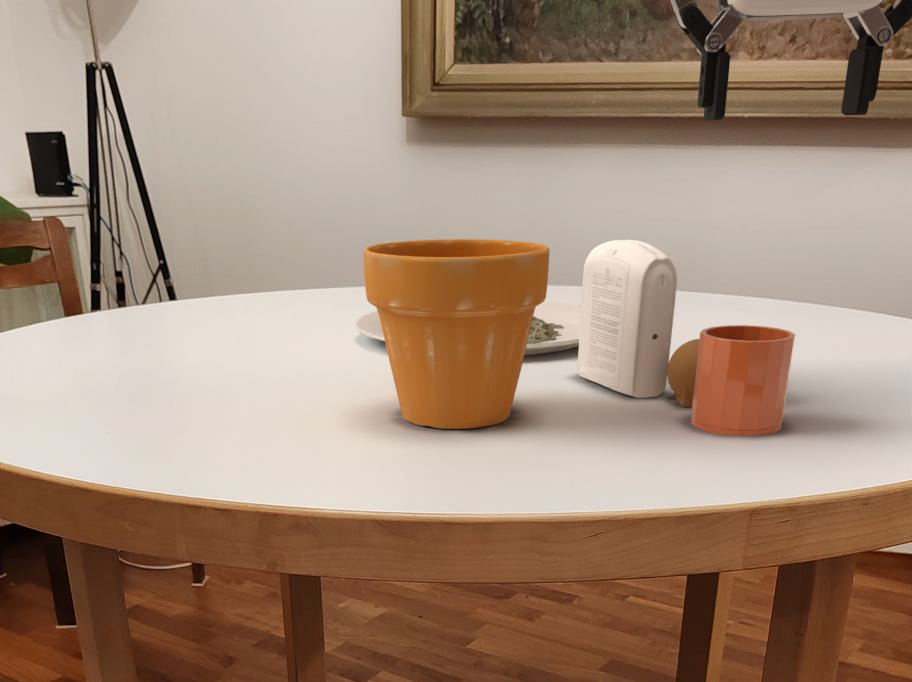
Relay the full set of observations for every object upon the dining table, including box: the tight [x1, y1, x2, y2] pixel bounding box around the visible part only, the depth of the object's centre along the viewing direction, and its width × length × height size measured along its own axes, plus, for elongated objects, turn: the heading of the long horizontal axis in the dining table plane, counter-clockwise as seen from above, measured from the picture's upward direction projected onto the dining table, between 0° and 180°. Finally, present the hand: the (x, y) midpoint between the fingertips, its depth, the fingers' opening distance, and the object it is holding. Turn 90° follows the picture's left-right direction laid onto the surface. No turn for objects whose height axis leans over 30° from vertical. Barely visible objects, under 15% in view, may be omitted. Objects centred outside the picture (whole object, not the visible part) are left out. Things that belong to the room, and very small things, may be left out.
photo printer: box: [577, 239, 678, 399], centre depth 87 cm, size 10×4×12 cm, turn 23°
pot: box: [690, 324, 796, 437], centre depth 76 cm, size 7×7×7 cm
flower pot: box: [362, 238, 551, 430], centre depth 78 cm, size 14×14×13 cm
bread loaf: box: [667, 338, 700, 408], centre depth 83 cm, size 8×5×5 cm, turn 89°
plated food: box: [355, 300, 581, 356], centre depth 111 cm, size 30×30×3 cm
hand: (783, 117), depth 68 cm, fingers open, 9 cm apart
